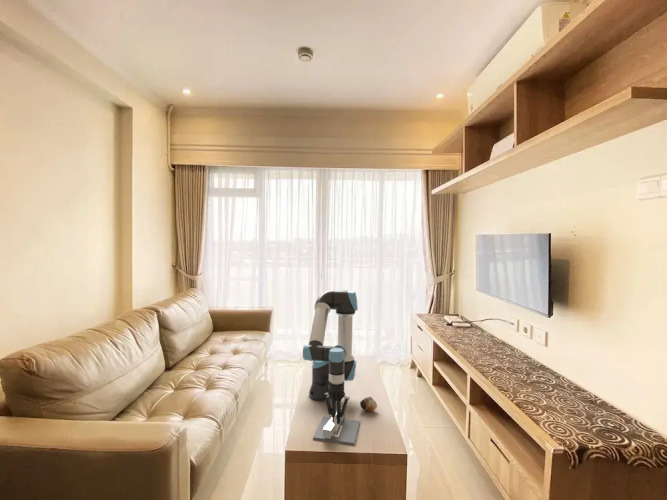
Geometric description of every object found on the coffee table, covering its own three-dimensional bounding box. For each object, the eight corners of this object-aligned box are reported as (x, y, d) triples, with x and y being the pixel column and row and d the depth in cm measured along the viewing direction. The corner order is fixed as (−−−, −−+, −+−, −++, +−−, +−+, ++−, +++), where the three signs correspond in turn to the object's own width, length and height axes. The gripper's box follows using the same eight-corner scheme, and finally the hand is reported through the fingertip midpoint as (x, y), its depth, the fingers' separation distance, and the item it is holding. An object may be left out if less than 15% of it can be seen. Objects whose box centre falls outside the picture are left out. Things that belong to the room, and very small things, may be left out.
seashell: (376, 408, 193) (376, 394, 193) (377, 413, 188) (377, 399, 187) (359, 408, 194) (360, 394, 193) (360, 413, 188) (360, 399, 188)
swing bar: (338, 416, 181) (338, 405, 181) (345, 418, 180) (345, 407, 180) (322, 438, 162) (322, 425, 161) (330, 440, 160) (330, 427, 160)
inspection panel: (322, 417, 183) (323, 415, 183) (360, 422, 179) (360, 420, 179) (313, 439, 163) (313, 436, 163) (354, 445, 159) (354, 442, 159)
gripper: (321, 382, 163) (320, 430, 164) (346, 386, 158) (346, 436, 159) (327, 376, 170) (327, 422, 171) (351, 380, 165) (351, 428, 166)
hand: (336, 429), depth 165 cm, fingers closed
